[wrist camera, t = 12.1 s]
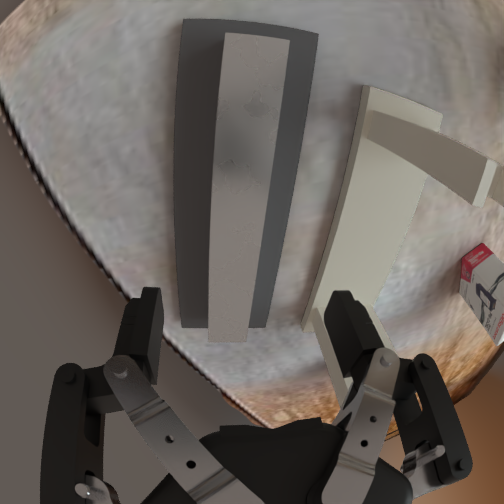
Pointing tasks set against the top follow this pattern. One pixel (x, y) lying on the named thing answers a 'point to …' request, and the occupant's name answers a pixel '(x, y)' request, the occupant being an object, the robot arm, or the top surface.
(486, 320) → the ink box
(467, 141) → the top surface
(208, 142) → the rubber mat
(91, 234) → the top surface
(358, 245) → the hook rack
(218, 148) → the rail
